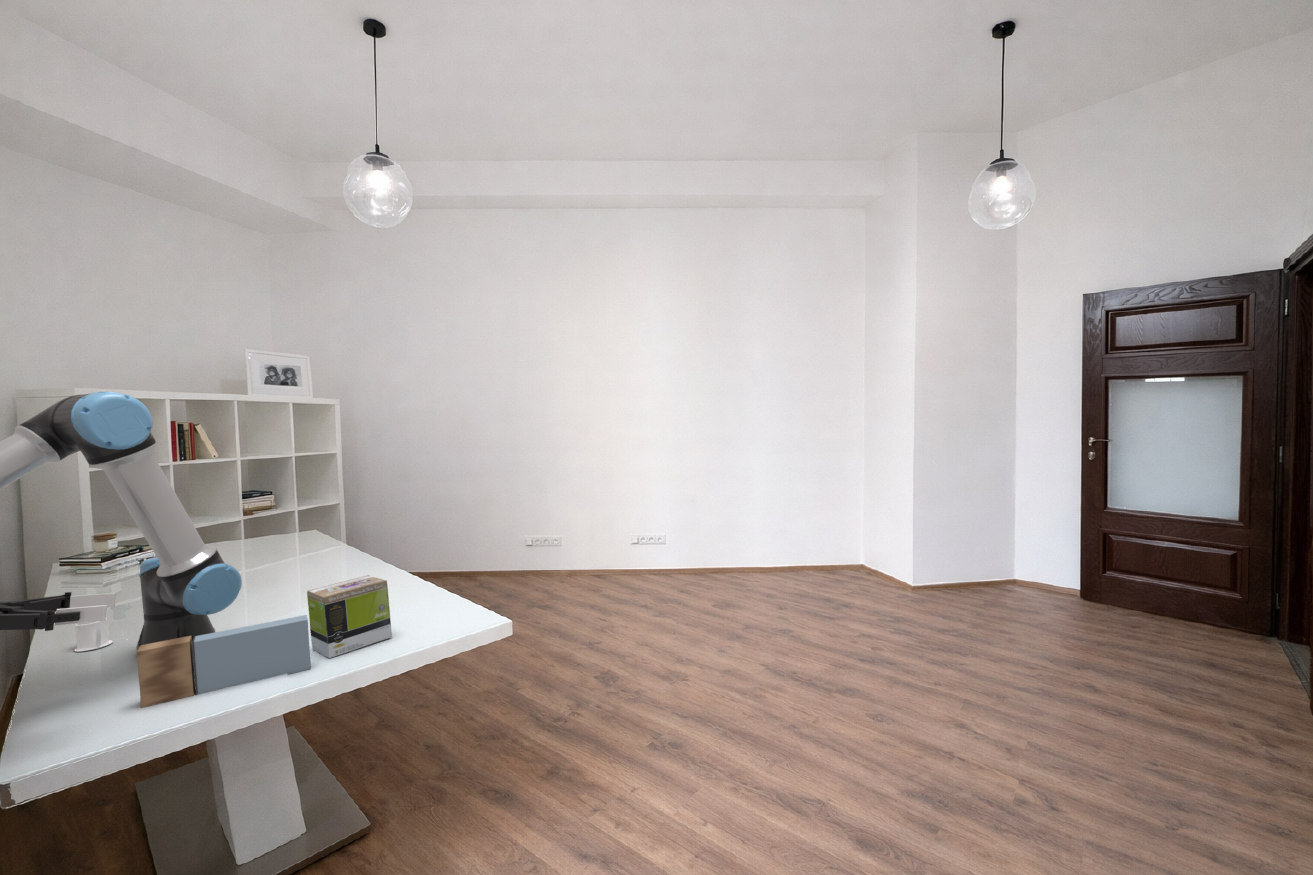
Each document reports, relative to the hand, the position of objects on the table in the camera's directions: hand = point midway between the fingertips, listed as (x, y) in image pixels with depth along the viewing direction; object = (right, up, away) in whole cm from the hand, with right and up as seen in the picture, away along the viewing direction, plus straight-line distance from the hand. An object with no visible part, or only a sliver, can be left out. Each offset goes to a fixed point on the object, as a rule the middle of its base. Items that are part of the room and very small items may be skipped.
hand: (111, 605), depth 114 cm
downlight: (-36, -20, +35) cm, 54 cm away
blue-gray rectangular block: (+20, -19, +12) cm, 30 cm away
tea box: (+31, -18, +30) cm, 47 cm away
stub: (+8, -20, +4) cm, 21 cm away
